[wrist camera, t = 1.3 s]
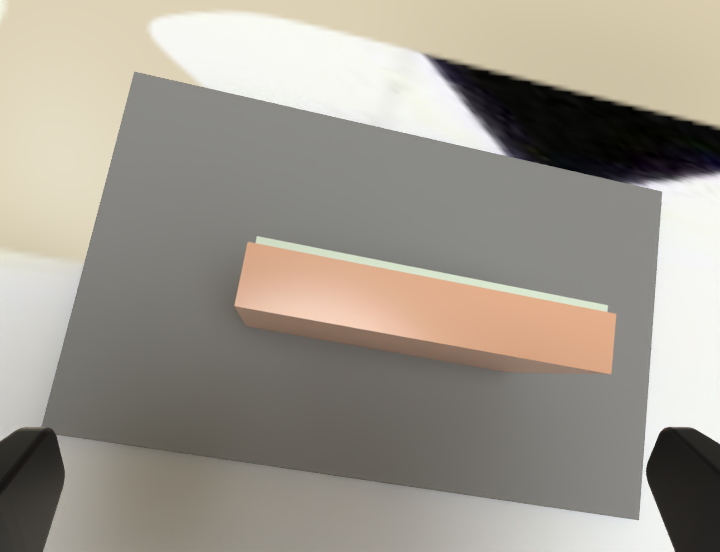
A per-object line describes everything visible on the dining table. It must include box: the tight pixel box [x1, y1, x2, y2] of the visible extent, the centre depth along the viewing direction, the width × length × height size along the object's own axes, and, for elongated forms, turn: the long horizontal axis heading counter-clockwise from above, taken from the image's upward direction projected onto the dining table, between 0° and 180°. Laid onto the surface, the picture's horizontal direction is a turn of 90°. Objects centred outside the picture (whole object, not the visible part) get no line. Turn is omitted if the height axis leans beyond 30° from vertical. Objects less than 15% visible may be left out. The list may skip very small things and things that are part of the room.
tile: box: [234, 236, 616, 374], centre depth 20 cm, size 2×11×8 cm, turn 80°
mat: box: [42, 72, 662, 520], centre depth 24 cm, size 15×24×1 cm, turn 80°
